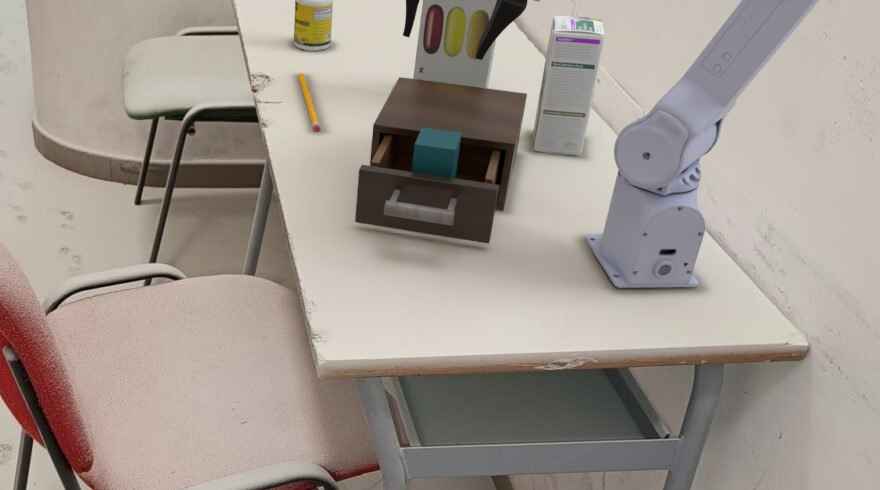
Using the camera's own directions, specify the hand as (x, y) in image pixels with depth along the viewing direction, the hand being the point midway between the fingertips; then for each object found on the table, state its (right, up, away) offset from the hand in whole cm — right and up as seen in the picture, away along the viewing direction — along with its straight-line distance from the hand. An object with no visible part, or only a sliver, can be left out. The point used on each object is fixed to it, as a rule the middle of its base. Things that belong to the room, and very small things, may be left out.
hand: (443, 43), depth 102 cm
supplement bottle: (-12, +13, +45) cm, 48 cm away
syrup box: (+16, -7, +18) cm, 26 cm away
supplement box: (+5, +1, +29) cm, 30 cm away
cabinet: (+2, -11, +11) cm, 16 cm away
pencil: (-13, 0, +27) cm, 30 cm away
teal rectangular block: (-1, -16, +1) cm, 16 cm away
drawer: (-1, -17, +1) cm, 17 cm away
